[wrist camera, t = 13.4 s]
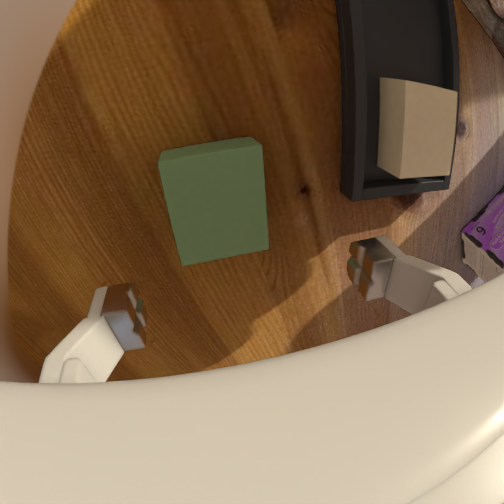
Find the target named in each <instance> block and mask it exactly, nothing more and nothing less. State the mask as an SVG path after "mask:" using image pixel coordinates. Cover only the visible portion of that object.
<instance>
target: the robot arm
mask: <svg viewBox="0 0 504 504" xmlns="http://www.w3.org/2000/svg"><path fill="white" fill-rule="evenodd" d="M349 252H350V254H351V255H352V256H351V257H350V258H349V260H348V262H347V272H348V276H349V278H350V280H351V281H352V283H353V284H355V285H357V286H359V289H358V291H359V293H360V294H361V295H362V297H363V298H364V299H365V301H370V300H374V299H378V298H381V297H384V298H385V299H387V300H389V301H390V302H392V303H394V304H395V305H397V306H399V307H400V308H402V309H404V310H405V311H407V312H409V313H410V314H412V315H410V316H408V317H405V318H402V319H400V320H397V321H394V322H392V323H389V324H386V325H383V326H380V327H377V328H374V329H371V330H368V331H365V332H362V333H359V334H356V335H353V336H350V337H347V338H343V339H340V340H337V341H333V342H330V343H326V344H323V345H319V346H316V347H312V348H308V349H304V350H301V351H297V352H293V353H289V354H285V355H281V356H276V357H272V358H268V359H263V360H259V361H254V362H249V363H245V364H240V365H234V366H229V367H224V368H218V369H213V370H207V371H200V372H194V373H187V374H180V375H173V376H165V377H156V378H147V379H137V380H125V381H112V382H106V380H107V379H108V377H109V376H110V374H111V372H112V371H113V369H114V368H115V366H116V365H117V363H118V361H119V360H120V358H121V357H122V355H123V354H124V351H128V350H134V349H141V348H145V345H146V332H145V330H144V328H145V326H146V325H147V312H146V308H145V305H144V302H143V300H142V299H140V298H139V297H138V294H139V290H138V288H137V285H136V284H135V283H134V282H132V283H125V284H118V285H112V286H106V287H100V288H97V289H96V290H95V293H94V296H93V299H92V303H91V306H90V309H89V313H88V316H87V318H84V319H83V320H82V321H81V322H80V323H79V324H78V325H77V326H76V327H75V328H74V329H73V330H72V331H71V332H70V333H69V334H68V335H67V336H66V337H65V338H64V339H63V340H62V341H61V342H60V343H59V344H58V345H57V346H56V347H55V348H54V349H53V350H52V352H51V353H50V354H49V355H48V356H47V357H46V358H45V361H44V364H43V368H42V371H41V375H40V379H39V383H24V382H7V381H6V382H5V381H0V504H504V273H503V274H501V275H499V276H497V277H495V278H493V279H491V280H489V281H487V282H485V283H483V284H481V285H479V286H477V287H475V288H473V289H472V288H471V287H470V286H469V285H468V284H467V283H466V282H465V281H464V280H463V279H462V278H461V277H460V276H459V275H458V274H457V273H455V272H453V271H450V270H448V269H445V268H443V267H440V266H438V265H435V264H432V263H430V262H427V261H424V260H422V259H419V258H416V257H414V256H411V255H408V256H407V255H406V254H405V253H404V252H403V251H402V250H401V249H399V248H398V247H397V246H396V245H395V244H394V243H393V242H392V241H391V240H390V239H389V238H388V237H387V236H384V235H382V236H377V237H373V238H370V239H365V240H360V241H355V242H351V244H350V248H349Z"/></svg>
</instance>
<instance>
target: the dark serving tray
mask: <svg viewBox="0 0 504 504" xmlns="http://www.w3.org/2000/svg"><path fill="white" fill-rule="evenodd" d="M335 1H336V10H337V19H338V30H339V42H340V58H341V78H342V169H341V191H340V192H341V193H342V194H343V195H345V196H346V197H347V198H348V199H350V200H351V201H359V200H367V199H374V198H382V197H389V196H397V195H405V194H413V193H421V192H429V191H438V190H446V189H449V184H450V178H451V172H452V166H453V159H454V152H455V144H456V135H457V124H458V110H459V49H458V35H457V25H456V17H455V9H454V3H453V0H335ZM380 77H382V78H392V79H400V80H407V81H413V82H418V83H423V84H427V85H432V86H436V87H441V88H445V89H448V90H452V91H456V92H457V114H456V127H455V138H454V146H453V154H452V161H451V168H450V174H449V175H445V176H429V177H416V178H404V179H399V178H397V177H396V176H394V175H392V174H390V173H389V172H387V171H385V170H383V169H382V168H380V167H378V166H377V158H378V141H379V115H380Z"/></svg>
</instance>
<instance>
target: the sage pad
mask: <svg viewBox="0 0 504 504" xmlns="http://www.w3.org/2000/svg"><path fill="white" fill-rule="evenodd" d="M158 168H159V173H160V178H161V182H162V187H163V191H164V196H165V200H166V205H167V209H168V213H169V217H170V222H171V226H172V230H173V234H174V238H175V242H176V245H177V249H178V253H179V257H180V261H181V264H182V266H187V265H192V264H197V263H202V262H207V261H212V260H217V259H222V258H227V257H232V256H237V255H242V254H248V253H253V252H258V251H263V250H268V249H269V239H268V222H267V206H266V191H265V176H264V162H263V149H262V145H261V144H260V143H258V142H257V141H256V140H255V139H253V138H252V137H250V136H249V137H241V138H234V139H227V140H220V141H214V142H208V143H202V144H196V145H191V146H185V147H180V148H175V149H170V150H165V151H162V152H161V154H160V158H159V161H158Z"/></svg>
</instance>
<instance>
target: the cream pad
mask: <svg viewBox="0 0 504 504" xmlns="http://www.w3.org/2000/svg"><path fill="white" fill-rule="evenodd" d="M456 114H457V92H456V91H452V90H448V89H445V88H441V87H436V86H432V85H427V84H423V83H418V82H413V81H407V80H400V79H392V78H382V77H380V115H379V141H378V158H377V166H378V167H380V168H382V169H383V170H385V171H387V172H389V173H390V174H392V175H394V176H396V177H397V178H399V179H404V178H416V177H429V176H445V175H449V174H450V168H451V161H452V154H453V146H454V138H455V127H456Z"/></svg>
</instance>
